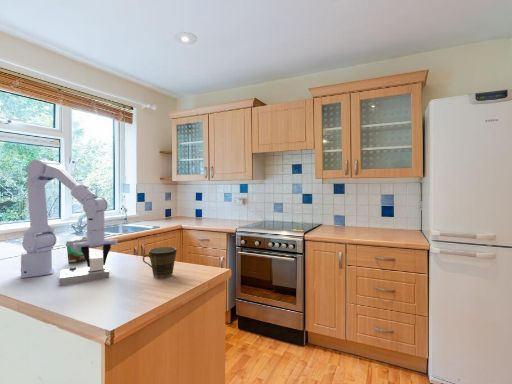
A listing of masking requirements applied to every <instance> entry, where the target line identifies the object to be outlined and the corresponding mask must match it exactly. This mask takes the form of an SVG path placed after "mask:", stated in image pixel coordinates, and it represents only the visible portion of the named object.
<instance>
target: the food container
mask: <svg viewBox="0 0 512 384" xmlns="http://www.w3.org/2000/svg"><path fill="white" fill-rule="evenodd" d="M86 241H87V236H83V237H82V238H81V239H76V240H72V241H69V240H68V241H66V243H65V247H66V250H67V263H68V265H69V264H79V263H80V264H81V263H85V262H87V261H86V259H85V256H84V254H83V253H82V251H81V248H77V249H73V243H78V242H86Z"/></svg>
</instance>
